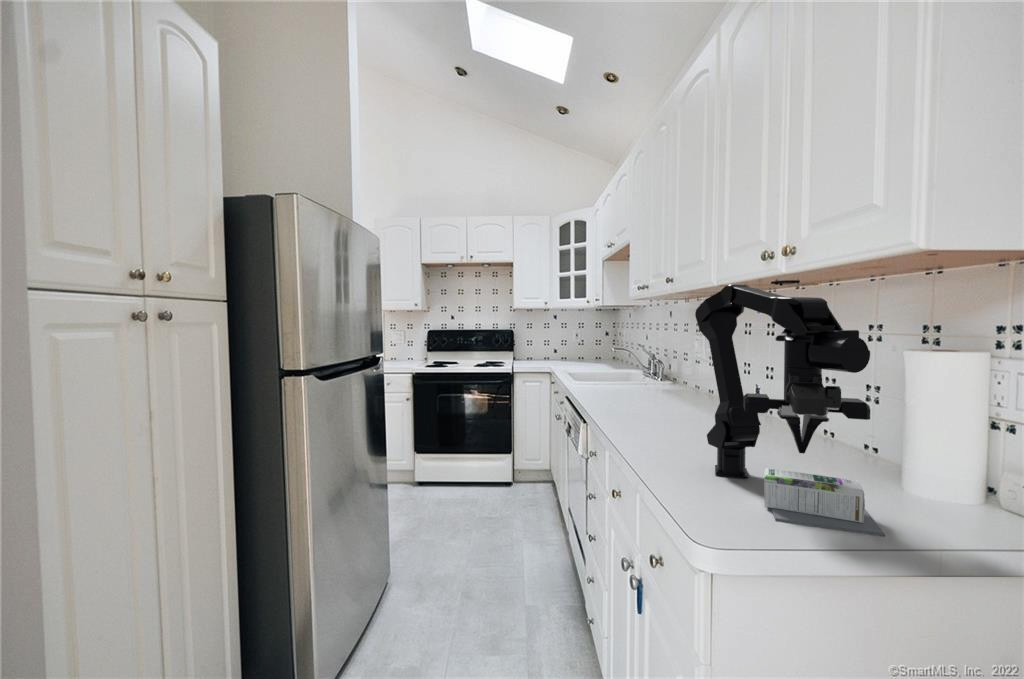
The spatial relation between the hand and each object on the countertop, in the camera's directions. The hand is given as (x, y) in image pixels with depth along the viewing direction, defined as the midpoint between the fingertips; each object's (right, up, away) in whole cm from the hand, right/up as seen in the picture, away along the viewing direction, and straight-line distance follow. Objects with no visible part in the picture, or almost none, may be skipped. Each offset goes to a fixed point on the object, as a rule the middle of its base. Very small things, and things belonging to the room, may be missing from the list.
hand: (801, 452), depth 82 cm
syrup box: (-6, -7, +2) cm, 9 cm away
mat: (+2, -10, -1) cm, 10 cm away
